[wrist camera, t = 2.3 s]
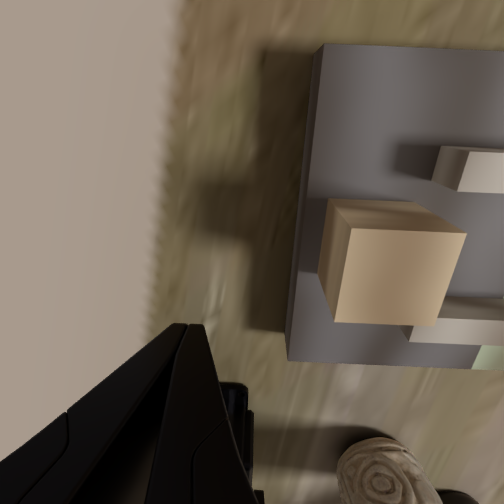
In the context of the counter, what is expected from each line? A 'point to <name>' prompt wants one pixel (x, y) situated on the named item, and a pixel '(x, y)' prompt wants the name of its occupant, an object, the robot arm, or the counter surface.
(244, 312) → the counter surface
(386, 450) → the carving
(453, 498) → the supplement bottle
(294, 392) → the counter surface
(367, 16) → the counter surface
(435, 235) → the maple block
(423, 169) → the channel deck
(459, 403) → the counter surface
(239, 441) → the robot arm
